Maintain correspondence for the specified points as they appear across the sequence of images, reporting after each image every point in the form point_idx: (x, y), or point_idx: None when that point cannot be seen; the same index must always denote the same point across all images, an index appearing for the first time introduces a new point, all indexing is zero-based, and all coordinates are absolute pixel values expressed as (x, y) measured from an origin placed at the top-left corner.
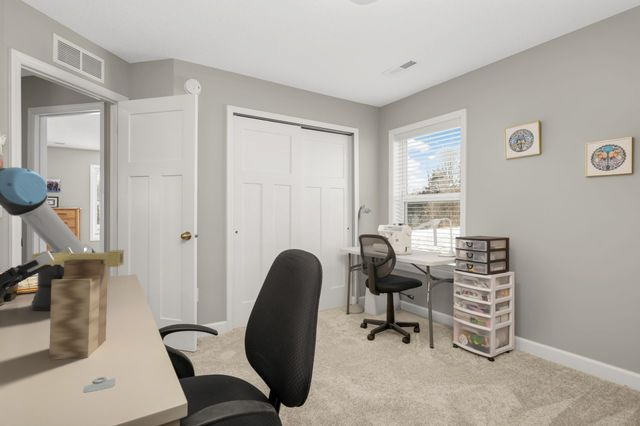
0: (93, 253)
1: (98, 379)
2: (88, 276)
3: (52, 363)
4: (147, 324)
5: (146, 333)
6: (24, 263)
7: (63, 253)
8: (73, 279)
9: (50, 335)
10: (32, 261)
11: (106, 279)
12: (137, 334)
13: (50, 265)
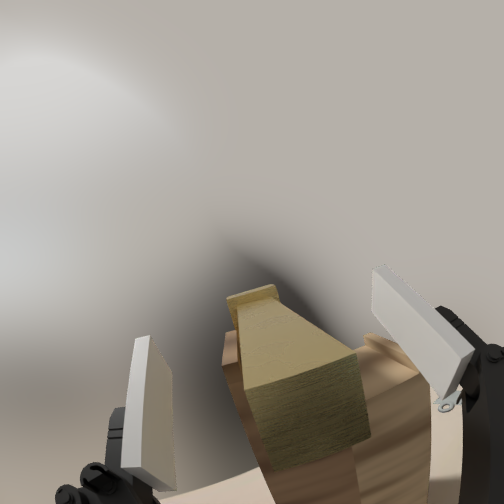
0: (263, 304)
1: (445, 409)
2: None
3: (434, 500)
4: (191, 496)
5: (253, 478)
6: (467, 344)
7: (273, 323)
8: (388, 342)
9: (427, 487)
10: (446, 311)
11: None
12: (258, 487)
13: (156, 499)
